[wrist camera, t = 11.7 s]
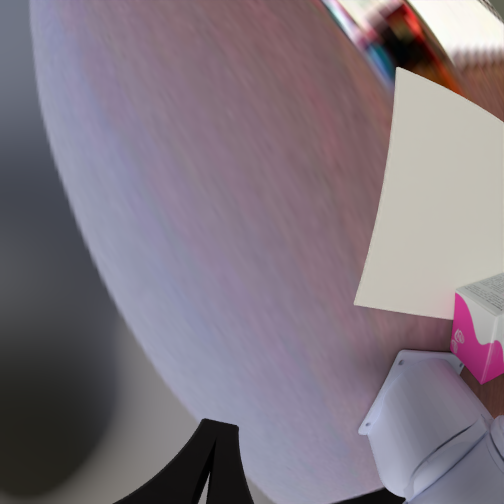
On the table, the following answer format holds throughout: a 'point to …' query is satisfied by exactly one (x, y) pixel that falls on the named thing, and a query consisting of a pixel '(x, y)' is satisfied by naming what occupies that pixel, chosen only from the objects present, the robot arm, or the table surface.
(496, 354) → the supplement box
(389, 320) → the table surface
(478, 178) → the grey mat
